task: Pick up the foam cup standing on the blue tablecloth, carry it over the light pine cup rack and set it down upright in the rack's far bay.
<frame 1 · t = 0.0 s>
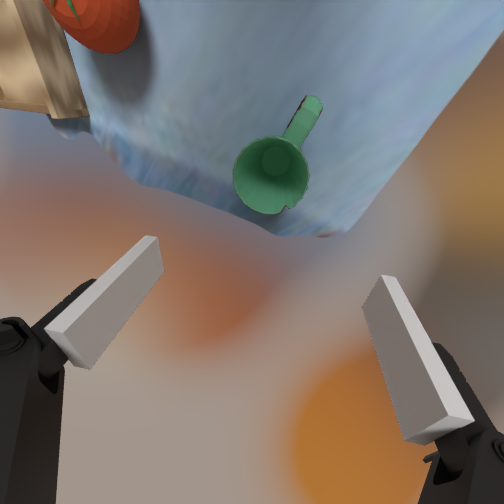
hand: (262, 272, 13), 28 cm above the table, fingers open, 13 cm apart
tomato: (119, 6, 28), on the table
mug: (283, 146, 35), on the table
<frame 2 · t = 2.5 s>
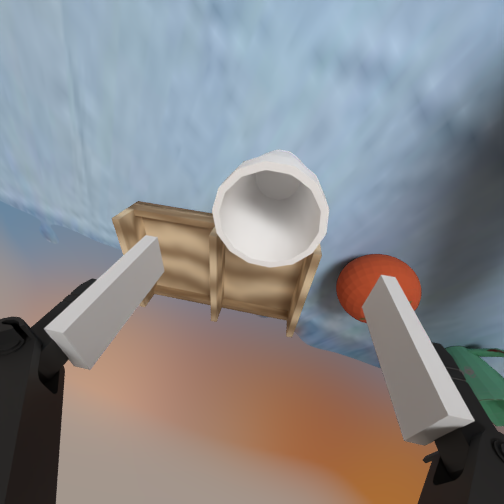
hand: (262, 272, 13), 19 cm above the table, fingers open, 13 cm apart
foam cup: (278, 175, 28), on the table
tomato: (366, 267, 34), on the table
rack: (223, 261, 38), on the table
mug: (466, 347, 41), on the table
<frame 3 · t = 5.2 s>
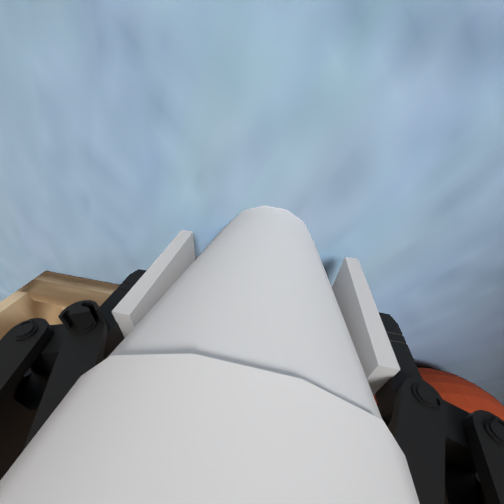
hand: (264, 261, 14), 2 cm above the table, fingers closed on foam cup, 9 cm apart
foam cup: (267, 245, 16), on the table, touching gripper
tomato: (412, 372, 21), on the table
rack: (190, 349, 25), on the table
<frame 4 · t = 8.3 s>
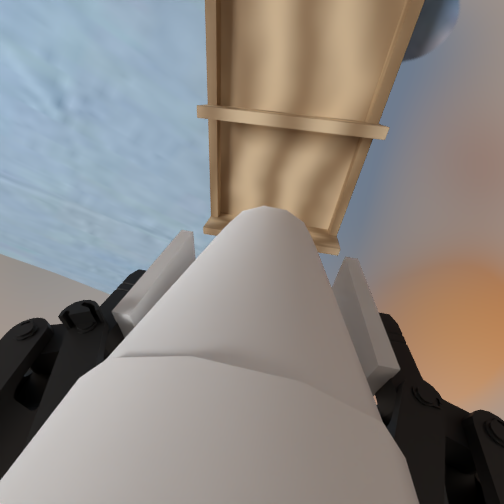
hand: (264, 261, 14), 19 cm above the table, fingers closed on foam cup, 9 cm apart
foam cup: (267, 246, 15), point 17 cm above the table, touching gripper
rack: (290, 117, 25), on the table
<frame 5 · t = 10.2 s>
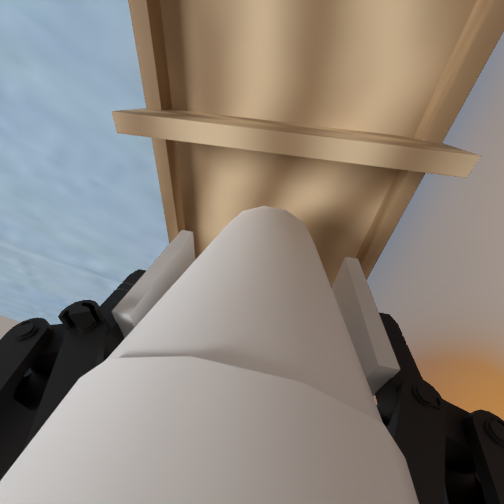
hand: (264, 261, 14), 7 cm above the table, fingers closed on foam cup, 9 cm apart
foam cup: (267, 246, 15), point 5 cm above the table, touching gripper
rack: (286, 128, 16), on the table
when the fingers open (5 cm above the table, at t = 11.6 s): foam cup drops 2 cm, resting on rack.
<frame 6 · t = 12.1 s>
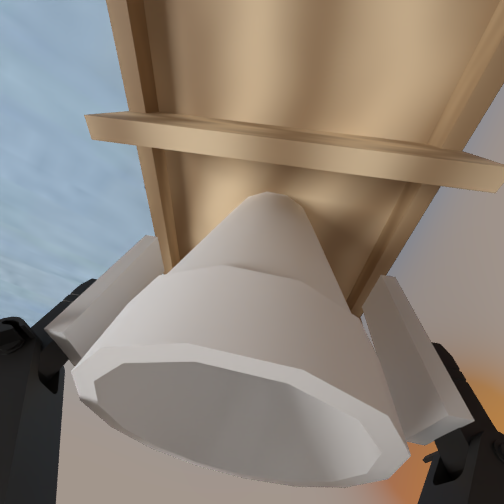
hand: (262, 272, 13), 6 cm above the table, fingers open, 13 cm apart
foam cup: (269, 229, 17), point 1 cm above the table, touching rack
rack: (285, 133, 14), on the table
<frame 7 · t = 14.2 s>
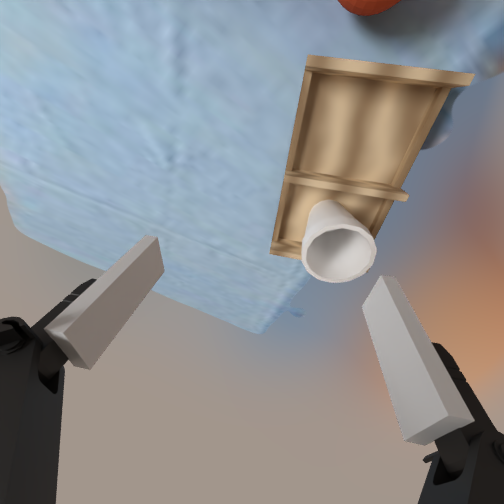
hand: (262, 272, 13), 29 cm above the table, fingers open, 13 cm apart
foam cup: (326, 215, 40), point 1 cm above the table, touching rack
rack: (338, 177, 37), on the table
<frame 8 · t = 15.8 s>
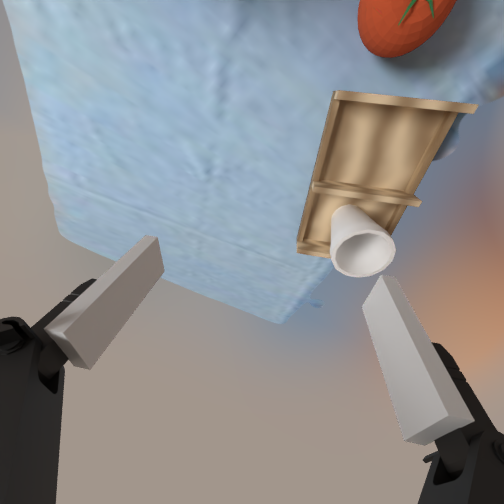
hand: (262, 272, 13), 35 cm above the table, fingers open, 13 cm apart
foam cup: (346, 218, 45), point 1 cm above the table, touching rack
tomato: (391, 12, 29), on the table
rack: (357, 185, 42), on the table
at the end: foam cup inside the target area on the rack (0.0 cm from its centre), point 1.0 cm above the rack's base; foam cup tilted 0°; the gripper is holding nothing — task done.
